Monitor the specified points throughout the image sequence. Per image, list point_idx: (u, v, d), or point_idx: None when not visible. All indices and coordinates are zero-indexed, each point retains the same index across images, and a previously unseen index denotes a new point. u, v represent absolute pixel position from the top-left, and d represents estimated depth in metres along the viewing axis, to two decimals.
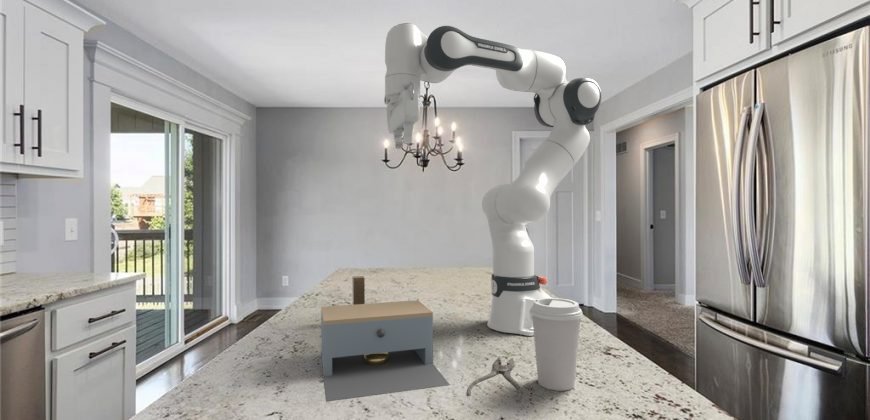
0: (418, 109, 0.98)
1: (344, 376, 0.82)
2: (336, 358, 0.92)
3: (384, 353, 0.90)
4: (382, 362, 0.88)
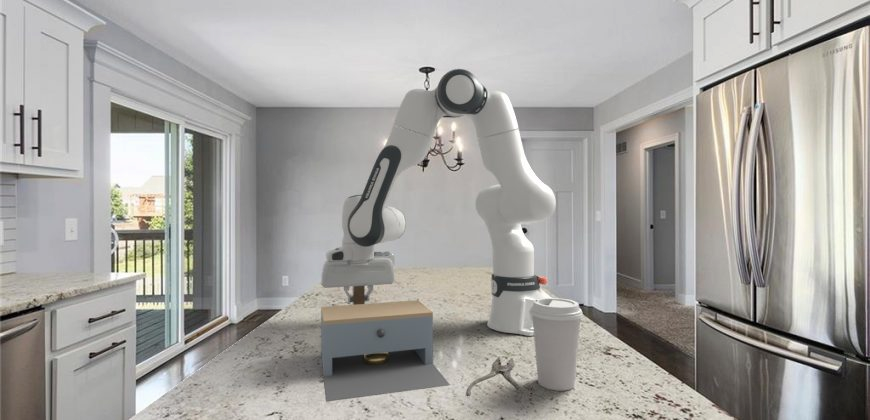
0: None
1: (344, 376, 0.82)
2: (336, 358, 0.92)
3: (384, 353, 0.90)
4: (381, 362, 0.88)
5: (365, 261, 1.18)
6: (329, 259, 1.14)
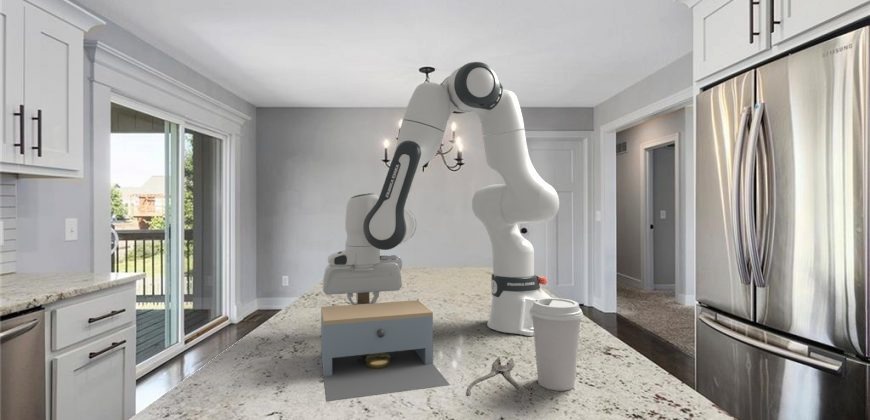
0: None
1: (344, 376, 0.82)
2: (336, 358, 0.92)
3: (386, 357, 0.88)
4: (382, 366, 0.86)
5: (370, 266, 1.08)
6: (331, 263, 1.05)
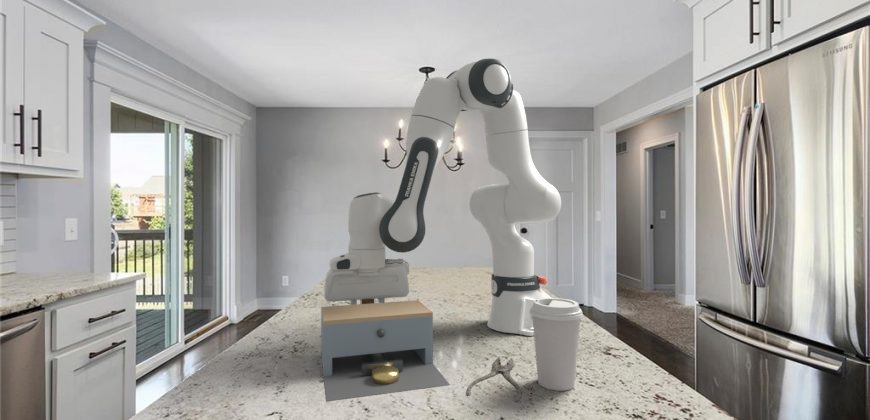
0: None
1: (344, 376, 0.82)
2: (336, 358, 0.92)
3: (394, 371, 0.80)
4: (390, 382, 0.78)
5: (375, 270, 1.01)
6: (333, 268, 0.97)
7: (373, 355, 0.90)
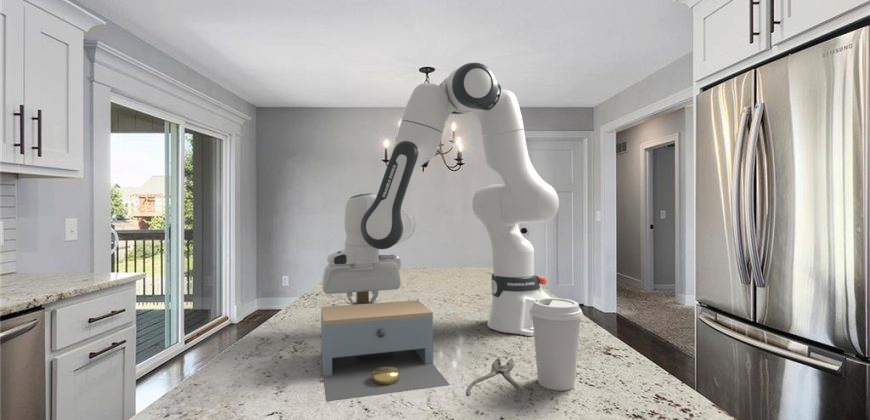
0: None
1: (344, 376, 0.82)
2: (336, 358, 0.92)
3: (394, 371, 0.80)
4: (390, 383, 0.78)
5: (369, 265, 1.10)
6: (331, 263, 1.06)
7: None
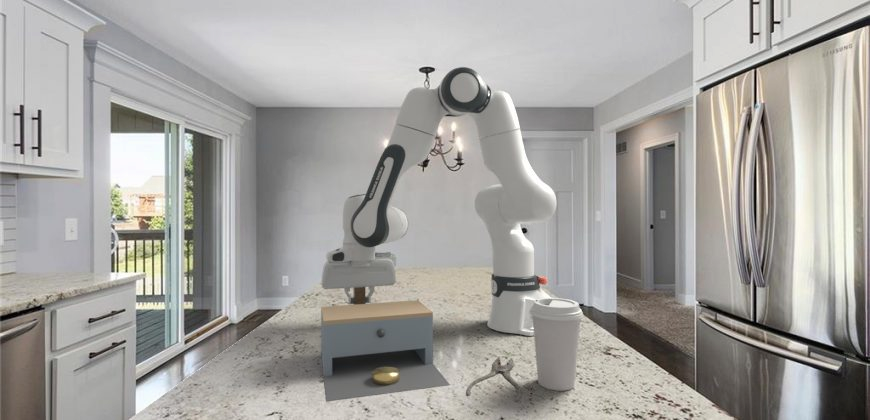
0: None
1: (344, 376, 0.82)
2: (336, 358, 0.92)
3: (394, 372, 0.80)
4: (390, 383, 0.78)
5: (366, 262, 1.16)
6: (329, 260, 1.12)
7: None
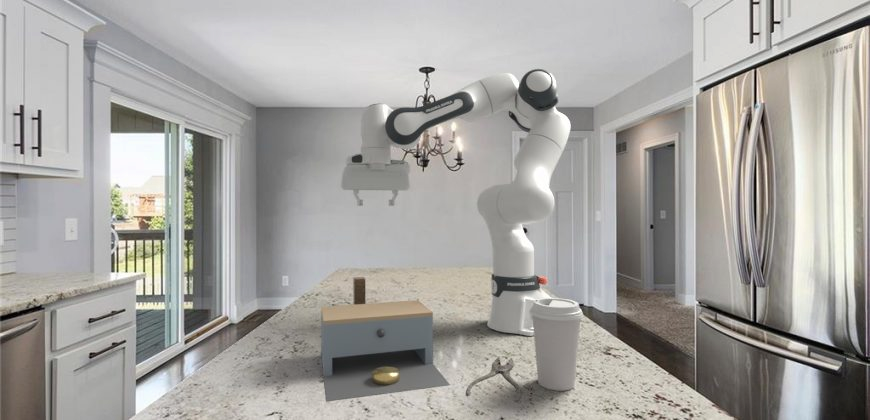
0: None
1: (344, 376, 0.82)
2: (336, 358, 0.92)
3: (394, 372, 0.80)
4: (389, 383, 0.78)
5: (382, 166, 1.25)
6: (349, 161, 1.22)
7: None
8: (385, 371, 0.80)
